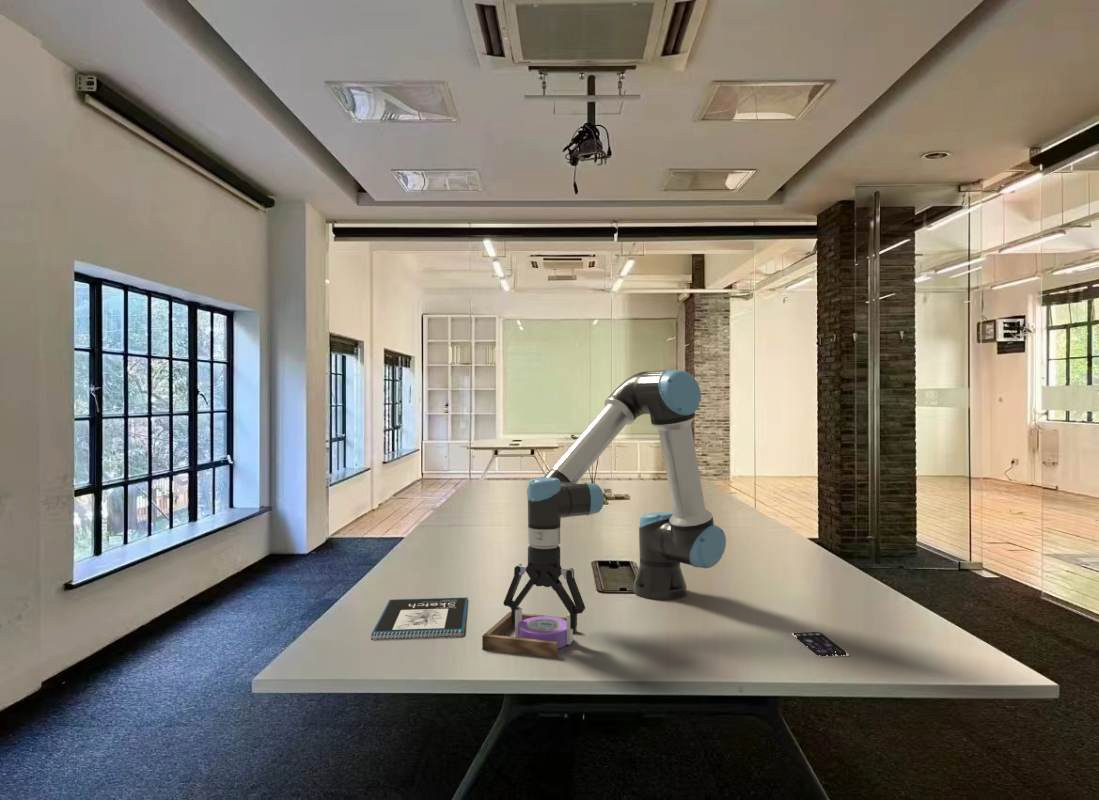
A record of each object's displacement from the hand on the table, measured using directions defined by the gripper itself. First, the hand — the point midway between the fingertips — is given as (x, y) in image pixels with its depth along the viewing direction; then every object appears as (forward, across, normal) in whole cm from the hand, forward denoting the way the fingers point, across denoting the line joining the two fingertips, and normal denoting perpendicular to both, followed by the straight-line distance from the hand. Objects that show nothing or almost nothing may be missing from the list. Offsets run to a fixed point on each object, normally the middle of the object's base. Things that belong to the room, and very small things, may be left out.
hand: (543, 639), depth 153 cm
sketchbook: (+1, -34, +7) cm, 35 cm away
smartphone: (+1, +60, +16) cm, 63 cm away
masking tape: (+1, 0, 0) cm, 1 cm away
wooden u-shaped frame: (0, -2, 0) cm, 3 cm away
